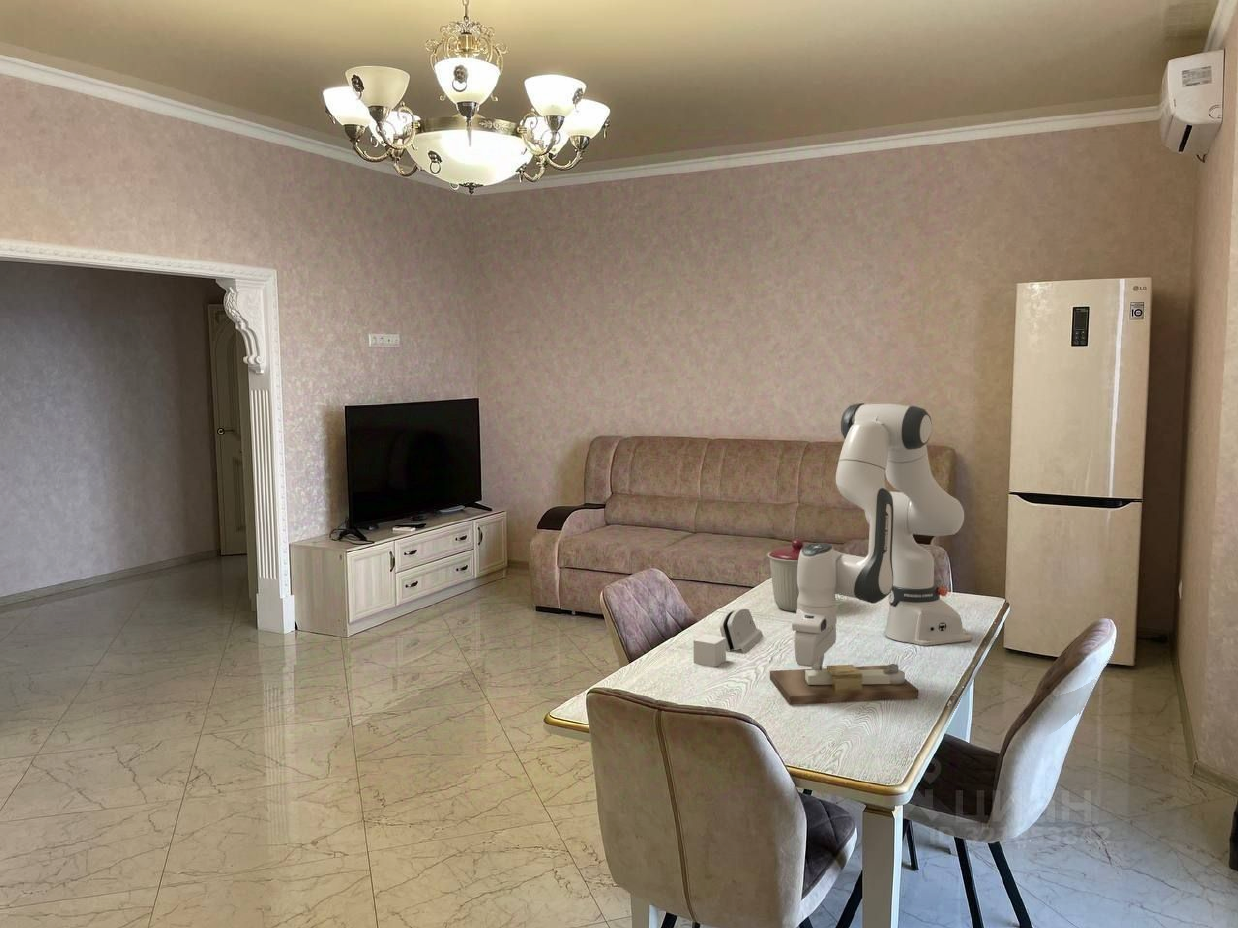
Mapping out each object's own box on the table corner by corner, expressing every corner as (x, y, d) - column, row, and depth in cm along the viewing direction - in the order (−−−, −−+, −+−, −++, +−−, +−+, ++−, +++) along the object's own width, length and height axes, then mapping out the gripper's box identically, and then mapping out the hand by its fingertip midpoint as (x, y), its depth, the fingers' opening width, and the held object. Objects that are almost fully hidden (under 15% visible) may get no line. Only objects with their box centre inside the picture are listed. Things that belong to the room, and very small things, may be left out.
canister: (836, 604, 283) (836, 537, 281) (815, 618, 268) (815, 547, 266) (780, 597, 293) (781, 532, 290) (757, 610, 277) (757, 541, 275)
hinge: (744, 654, 236) (731, 616, 237) (727, 657, 238) (715, 621, 239) (763, 636, 251) (751, 601, 251) (748, 640, 253) (736, 605, 254)
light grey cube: (715, 667, 226) (714, 643, 226) (693, 663, 230) (693, 640, 229) (726, 660, 231) (725, 637, 231) (704, 656, 235) (704, 633, 234)
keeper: (852, 681, 208) (852, 664, 208) (861, 690, 202) (862, 673, 202) (826, 682, 208) (826, 665, 207) (835, 692, 202) (835, 674, 201)
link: (901, 677, 210) (901, 661, 210) (907, 684, 205) (907, 668, 205) (804, 677, 211) (805, 662, 210) (808, 685, 206) (808, 669, 205)
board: (888, 673, 220) (889, 665, 219) (918, 698, 203) (918, 689, 203) (769, 678, 217) (769, 670, 217) (789, 705, 200) (789, 696, 200)
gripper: (816, 602, 220) (816, 658, 222) (789, 625, 203) (789, 685, 204) (842, 605, 217) (842, 661, 219) (817, 628, 200) (817, 689, 201)
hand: (817, 673), depth 211 cm, fingers closed
